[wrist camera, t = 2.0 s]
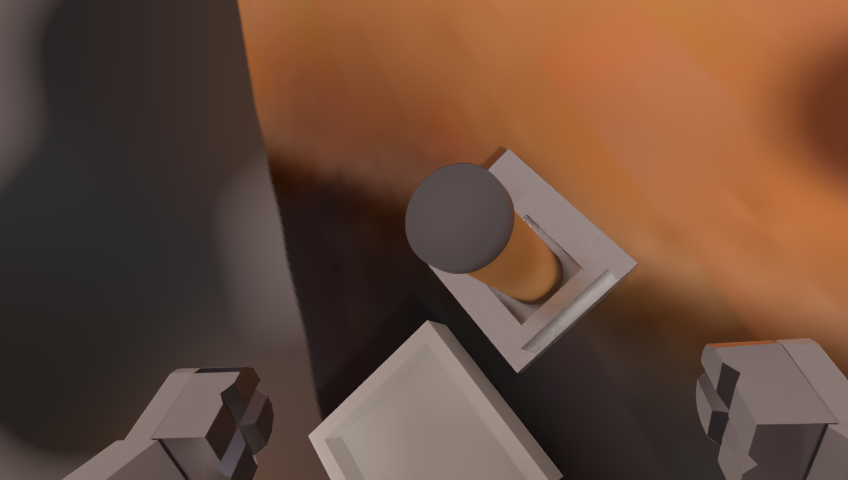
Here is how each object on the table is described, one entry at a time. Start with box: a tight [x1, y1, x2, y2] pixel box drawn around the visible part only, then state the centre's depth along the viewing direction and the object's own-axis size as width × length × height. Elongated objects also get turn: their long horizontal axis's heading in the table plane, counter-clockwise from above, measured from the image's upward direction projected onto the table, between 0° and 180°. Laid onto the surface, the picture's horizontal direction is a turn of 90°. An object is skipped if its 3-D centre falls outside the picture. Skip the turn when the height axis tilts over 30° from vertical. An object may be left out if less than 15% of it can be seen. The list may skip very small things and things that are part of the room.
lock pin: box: [405, 163, 563, 305], centre depth 27 cm, size 5×5×13 cm
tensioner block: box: [428, 149, 639, 374], centre depth 33 cm, size 12×10×3 cm
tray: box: [308, 320, 563, 480], centre depth 32 cm, size 12×12×3 cm
